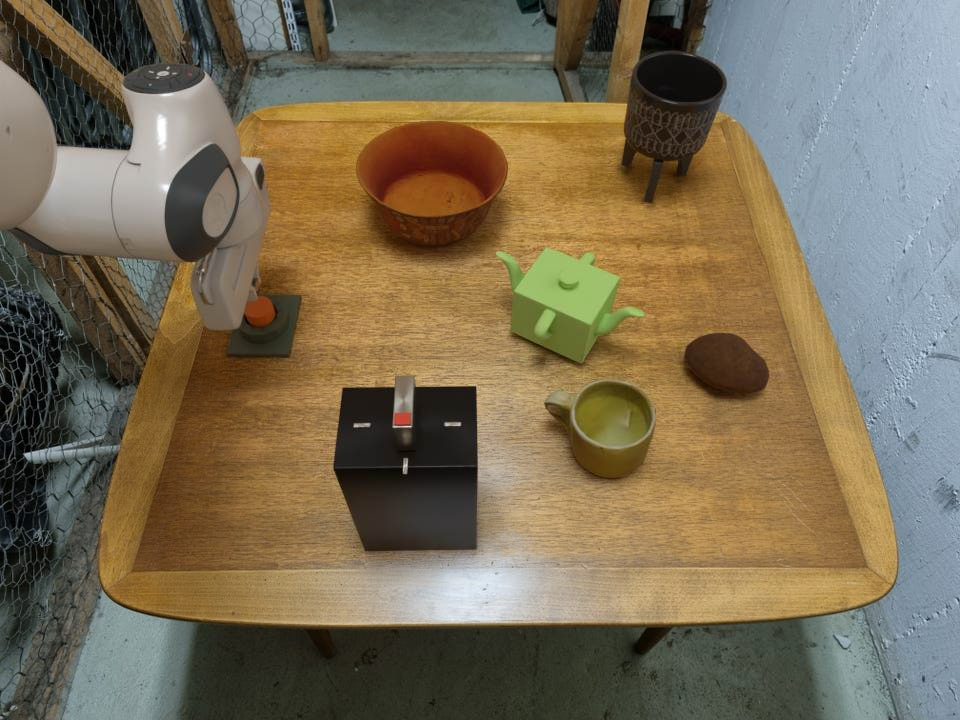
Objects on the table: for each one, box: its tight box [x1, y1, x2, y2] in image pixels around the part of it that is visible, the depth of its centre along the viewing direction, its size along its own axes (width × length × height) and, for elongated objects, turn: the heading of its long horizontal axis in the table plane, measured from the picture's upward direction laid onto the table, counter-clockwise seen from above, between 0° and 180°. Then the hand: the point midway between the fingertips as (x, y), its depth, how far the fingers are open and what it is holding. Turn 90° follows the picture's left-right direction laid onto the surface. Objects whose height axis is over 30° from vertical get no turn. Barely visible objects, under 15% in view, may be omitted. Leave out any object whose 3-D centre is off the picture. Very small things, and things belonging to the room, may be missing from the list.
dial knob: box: [392, 374, 418, 451], centre depth 56 cm, size 5×2×4 cm, turn 1°
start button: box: [244, 296, 276, 327], centre depth 87 cm, size 4×4×2 cm
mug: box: [543, 378, 657, 479], centre depth 77 cm, size 12×10×10 cm
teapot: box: [495, 246, 646, 365], centre depth 85 cm, size 15×13×11 cm
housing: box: [225, 293, 303, 358], centre depth 88 cm, size 10×8×2 cm
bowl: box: [355, 120, 509, 246], centre depth 98 cm, size 21×21×10 cm
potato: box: [684, 332, 770, 395], centre depth 82 cm, size 7×10×7 cm
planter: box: [620, 50, 728, 204], centre depth 100 cm, size 13×13×18 cm
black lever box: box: [332, 385, 479, 552], centre depth 66 cm, size 12×9×20 cm
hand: (252, 292), depth 84 cm, fingers closed
